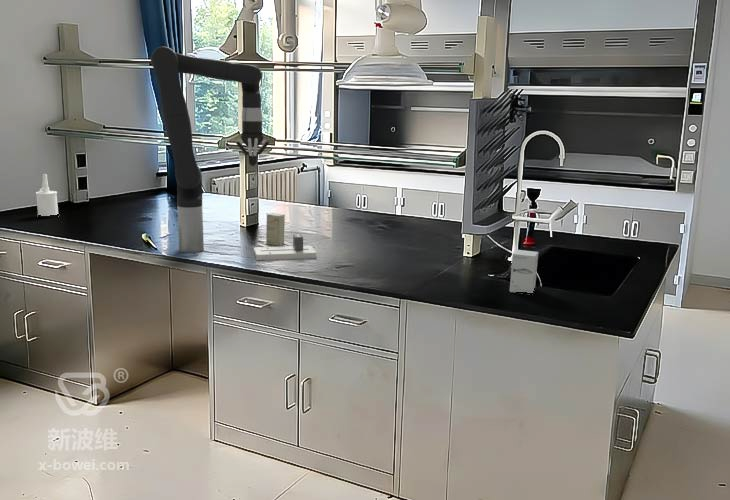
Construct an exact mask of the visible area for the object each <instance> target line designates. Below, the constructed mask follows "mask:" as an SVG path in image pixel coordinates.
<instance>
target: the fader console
mask: <svg viewBox="0 0 730 500" xmlns="http://www.w3.org/2000/svg"><path fill="white" fill-rule="evenodd" d="M253 254H254V257H255V259H256V261H266V260H268V261H269V260H270V261H271V260H292V259H293V260H295V259H316V258H317V251H316V250H315V249H314V248H313V247H312V245H303V250H295V249H294V248H293V245H289V246H288V245H287V246H286V245H285V246H260V247H259V246H257V247H253Z"/></svg>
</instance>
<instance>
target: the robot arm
mask: <svg viewBox="0 0 730 500" xmlns="http://www.w3.org/2000/svg"><path fill="white" fill-rule="evenodd" d="M150 63H151V66H152V68H153V69H154V73H155V76H156V80H157V82H158V87H159V94H160V95H159V96H160V104H161V105H160V106H161V112H162V119H163V123H164V128H165V131H166V136H167V139H168V142H169V145H170V148H171V150H172V155H173V162H174V173H175V180H176V181H175V182H176V192H177V193H176V204H177V232H178V233H177V235H178V237H177V238H178V252H180V253H198V252H202V251H204V249H205V247H204V245H205V243H204V220H203V218H204V216H203V213H204V212H203V211H204V210H203V175H202V173H203V172H202V170H201V169H200V167H199V165H198V164H197V160H196V158H195V152H194V148H193V133H192V132H193V131H192V123H191V119H190V113H189V109H188V107H187V106H188V105H187V102H186V99H185V96H184V93H183V90H182V86H181V81H180V74H189V75H194V76H200V77H204V78H209V79H214V80H219V81H225V82H227V81H228V82H237V83H241V91H242V96H241V97H242V99H241V101H242V102H241V104H242V111H241V135H240V138H239V139H238V140H236V141H235V144H236V145H237V147H238V148H239V149H240V150H241V151H242V152H243V154H244V155H246V156H248V165H250V166H251V167H255V165H257V156H259V155H262V153H263V152H264V151H265V149H266V148H267V147H268V145H269V144H270V142H269V141H268V140H266V139H265V138H264V135H263V112H262V96H261V92H260V82H261V80H262V77H263V73H262V71H261V69H260V68H259V67H258V66H256V65H251V64H245V63H236V62H233V61H227V60H223V59H222V60H221V59H216V58H206V57H195V56H189V55H185V54H181V53H178V52H175V51H174V49H172V48H171V47H168V46H164V45H163V46H159V47H157V48H155V49H154V50H153V51H152V53H151V55H150ZM243 143H244V144H245V146H246V147H247V150H246V149H245V147H244V146H243ZM261 144H262V145H261ZM260 145H261V147H260V148H258V147H259V146H260Z"/></svg>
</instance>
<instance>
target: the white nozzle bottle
mask: <svg viewBox="0 0 730 500" xmlns="http://www.w3.org/2000/svg"><path fill="white" fill-rule="evenodd" d="M48 181H49V180H48V174H46V173H42V183H41V188H39V190H38V191H36V192H35V196H36V206H37V207H36V208H37V216H38V215H41V216H50V215H57V214H59V207H58V205H59V204H58V191H56V190H50V187H49V183H48Z"/></svg>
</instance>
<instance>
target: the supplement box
mask: <svg viewBox="0 0 730 500" xmlns="http://www.w3.org/2000/svg"><path fill="white" fill-rule="evenodd" d="M511 256H512V257H511V258H512V259H511V269H510V279H509V280H510V281H509V282H510V283H509V291H510V292H509V293H516V292H527V293H533V294H534V292H535V290H534V288H535V289H536V281H537V271H538V270H537V269H538V261H539V251H533V250H525V249H523V250H522V249H515V250H514V251H513V253H512V255H511ZM533 291H534V292H533Z"/></svg>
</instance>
